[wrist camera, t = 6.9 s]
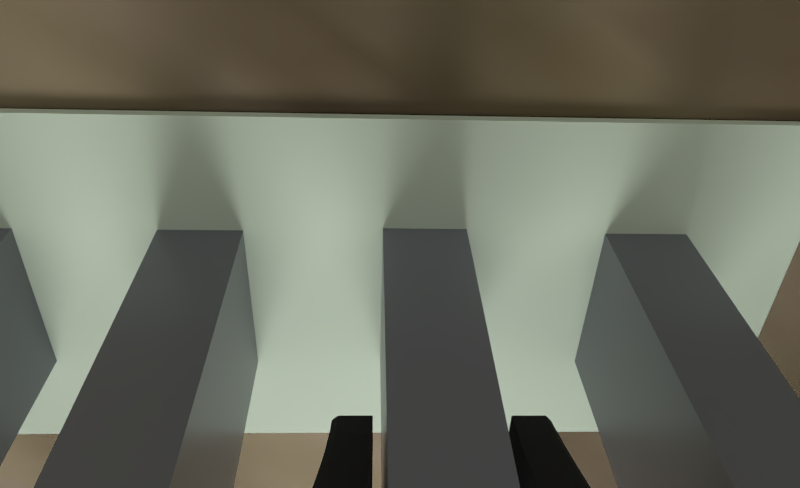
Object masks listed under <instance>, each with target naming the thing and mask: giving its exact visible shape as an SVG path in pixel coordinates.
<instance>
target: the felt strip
mask: <svg viewBox="0 0 800 488" xmlns="http://www.w3.org/2000/svg"><path fill="white" fill-rule="evenodd" d="M0 228H12V231H13V234H14V237H15V240H16V243H17V246H18V249H19V252H20V255H21V258H22V260H23V263H24V266H25V269H26V272H27V275H28V278H29V281H30V284H31V287H32V290H33V293H34V296H35V298H36V301H37V304H38V307H39V310H40V313H41V316H42V319H43V322H44V325H45V328H46V331H47V334H48V337H49V339H50V342H51V345H52V348H53V351H54V354H55V357H56V360H57V362H56V364H55V366H54V367H53V369H52V371H51V373H50V375H49V377H48V378H47V380H46V382H45V384H44V386H43V388H42V390H41V391H40V393H39V395H38V397H37V399H36V401H35V402H34V404H33V406H32V408H31V410H30V412H29V413H28V415H27V417H26V419H25V421H24V423H23V425H22V426H21V428H20V430H19V432H18V434H60V431H61V429H62V427H63V425H64V423H65V421H66V419H67V417H68V415H69V413H70V411H71V408H72V406H73V404H74V402H75V400H76V398H77V396H78V394H79V392H80V390H81V388H82V385H83V383H84V381H85V379H86V377H87V375H88V373H89V371H90V369H91V367H92V365H93V363H94V360H95V358H96V356H97V354H98V352H99V350H100V348H101V346H102V344H103V342H104V340H105V337H106V335H107V333H108V331H109V329H110V327H111V325H112V323H113V321H114V319H115V317H116V314H117V312H118V310H119V308H120V306H121V304H122V302H123V300H124V298H125V296H126V294H127V291H128V289H129V287H130V285H131V283H132V281H133V279H134V277H135V275H136V273H137V271H138V268H139V266H140V264H141V262H142V260H143V258H144V256H145V254H146V252H147V250H148V248H149V245H150V243H151V241H152V239H153V237H154V235H155V233H156V231H157V230H243V234H244V243H245V251H246V260H247V269H248V277H249V286H250V295H251V303H252V312H253V320H254V329H255V338H256V346H257V355H258V365H257V370H256V375H255V380H254V385H253V390H252V395H251V400H250V405H249V410H248V416H247V421H246V426H245V431H244V433H330V428H331V422H332V420H333V419H334V418H335V417H337V416H373V432H381V389H380V342H381V293H382V245H383V228H410V229H467V233H468V238H469V243H470V247H471V252H472V257H473V262H474V267H475V272H476V276H477V281H478V286H479V291H480V296H481V301H482V305H483V310H484V315H485V320H486V325H487V330H488V335H489V339H490V344H491V349H492V354H493V359H494V364H495V368H496V373H497V378H498V383H499V388H500V393H501V397H502V402H503V407H504V412H505V417H506V422H507V426H508V431H509V428H510V422H511V417H512V416H547V417H548V418H549V419H550V420H551V422H552V423H553V425H554V427H555V429H556V431H557V432H599V431H598V428H597V425H596V422H595V419H594V416H593V413H592V410H591V407H590V404H589V402H588V399H587V396H586V393H585V390H584V387H583V384H582V381H581V378H580V375H579V373H578V370H577V367H576V364H575V358H576V354H577V349H578V345H579V341H580V337H581V333H582V328H583V324H584V320H585V316H586V312H587V307H588V303H589V299H590V295H591V291H592V287H593V282H594V278H595V274H596V270H597V266H598V261H599V257H600V253H601V249H602V245H603V241H604V236H605V234H686V235H687V236H688V237H689V239H690V240H691V242H692V243H693V245H694V246H695V248H696V249H697V251H698V252H699V254H700V255H701V256H702V258H703V259H704V261H705V262H706V264H707V265H708V267H709V268H710V270H711V271H712V272H713V274H714V275H715V277H716V278H717V280H718V281H719V283H720V284H721V286H722V287H723V289H724V290H725V291H726V293H727V294H728V296H729V297H730V299H731V300H732V302H733V303H734V305H735V306H736V308H737V309H738V310H739V312H740V313H741V315H742V316H743V318H744V319H745V321H746V322H747V324H748V325H749V326H750V328H751V329H752V331H753V332H754V334H755V335H756V337H757V338H758V336H759V334H760V331H761V329H762V327H763V324H764V322H765V320H766V318H767V315H768V313H769V311H770V308H771V306H772V304H773V301H774V299H775V297H776V294H777V292H778V290H779V288H780V285H781V283H782V281H783V278H784V276H785V274H786V271H787V269H788V267H789V264H790V262H791V260H792V258H793V255H794V253H795V251H796V248H797V246H798V244H799V241H800V121H741V120H680V119H619V118H558V117H497V116H436V115H375V114H314V113H253V112H192V111H131V110H69V109H8V108H0Z"/></svg>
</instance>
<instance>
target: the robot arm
mask: <svg viewBox="0 0 800 488" xmlns="http://www.w3.org/2000/svg"><path fill="white" fill-rule="evenodd" d="M509 436H510V441H511V446H512V451H513V455H514V460H515V465H516V470H517V475H518V480H519V484H520V488H590V486H589V485H588V483H587V481H586V480H585V478H584V477H583V475H582V473H581V472H580V470H579V468H578V467H577V465H576V464H575V462H574V460H573V459H572V457H571V455H570V454H569V452H568V450H567V448H566V447H565V445H564V443H563V442H562V440H561V438H560V436H559V434H558V433H557V431H556V429H555V427H554V425H553V423H552V422H551V420H550V419H549V418H548V417H547V416H512V417H511V422H510V428H509ZM372 451H373V416H337V417H335V418H334V419H333V420H332V422H331V428H330V433H329V437H328V441H327V445H326V449H325V453H324V456H323V459H322V462H321V465H320V468H319V471H318V474H317V477H316V480H315V483H314V485H313V488H372Z"/></svg>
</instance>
